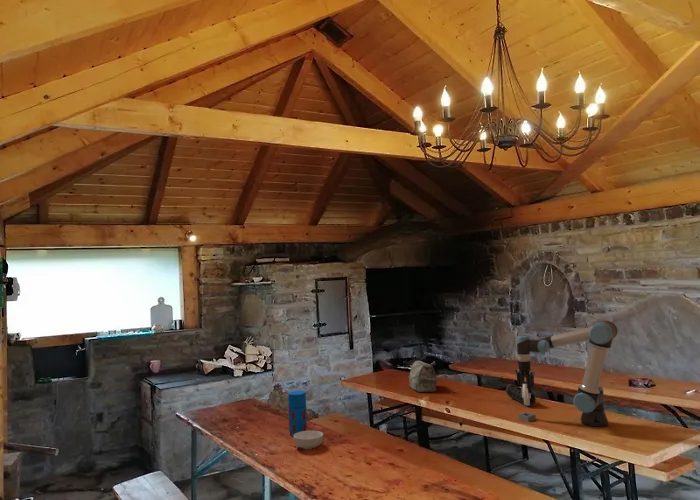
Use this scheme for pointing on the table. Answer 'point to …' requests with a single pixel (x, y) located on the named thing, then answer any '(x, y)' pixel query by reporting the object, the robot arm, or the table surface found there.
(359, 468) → the table surface
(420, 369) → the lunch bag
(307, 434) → the cereal bowl
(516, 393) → the muzzle brake
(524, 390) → the plug
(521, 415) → the socket block
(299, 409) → the thermos
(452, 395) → the table surface
